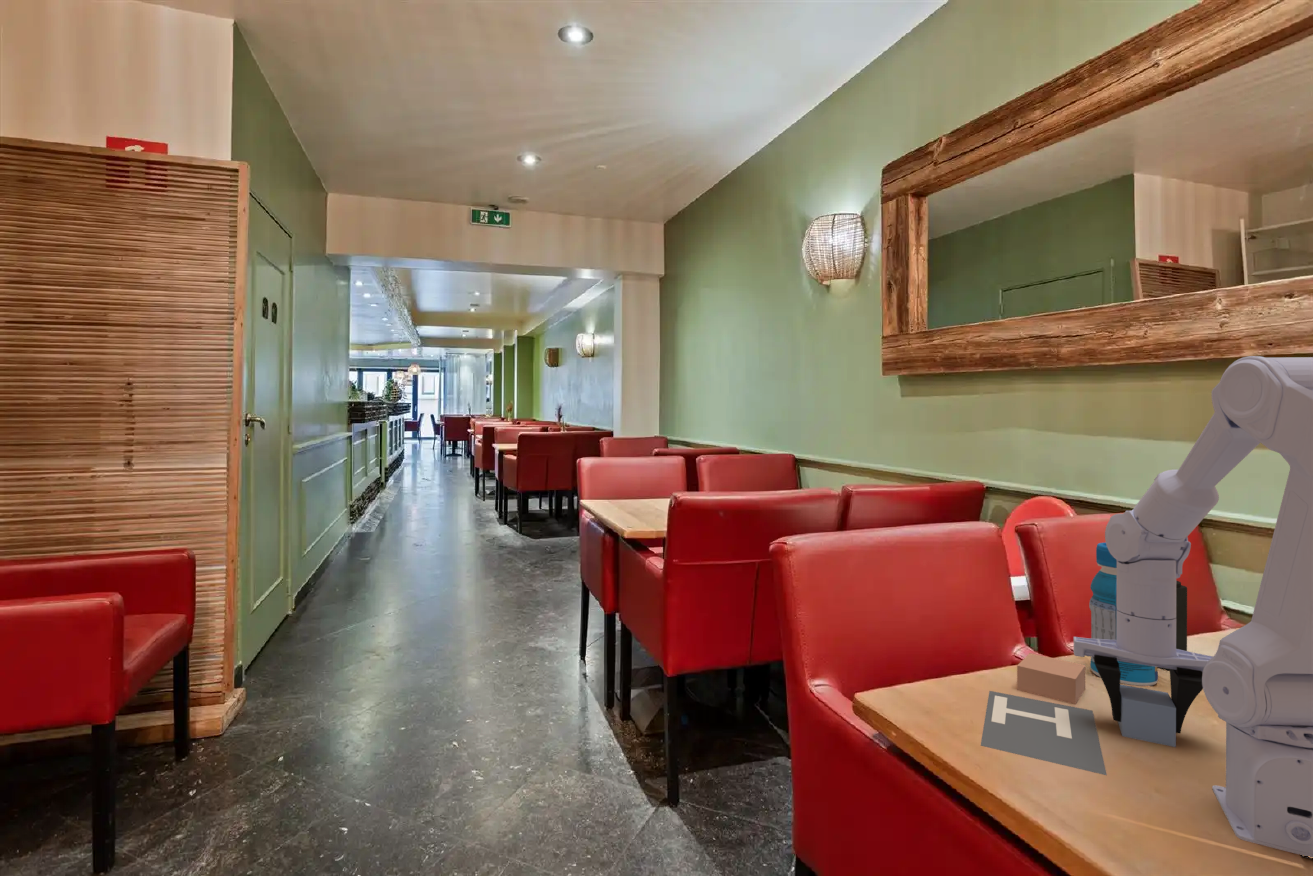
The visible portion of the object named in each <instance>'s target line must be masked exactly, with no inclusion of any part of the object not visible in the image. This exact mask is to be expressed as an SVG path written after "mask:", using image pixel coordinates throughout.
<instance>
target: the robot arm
mask: <svg viewBox="0 0 1313 876" xmlns="http://www.w3.org/2000/svg"><path fill="white" fill-rule="evenodd" d="M1211 403H1212V408H1213V411H1214V412H1213V414H1212V416H1211V417H1210V419H1209V421H1208V422H1207V424H1206V425H1205V427H1204V429H1203V430H1202V431H1201V434H1200V435H1199V437H1198V438H1197V440H1196V441H1195V442H1194V444H1193V446H1192V447H1191V449H1190V451H1189V453H1188V454H1187V456H1186V457H1185V458H1184V461H1182V464H1181V465H1180V467H1179V469H1177V468H1175V469H1167V470H1164V471H1162V472H1159V473H1158V474H1157V475H1156V477H1155V478H1154V479H1153V480H1154V481H1153V483H1151V485H1150V486H1149V488H1148V489H1147V490H1146V491H1145V493H1144V494H1143V495H1142V497H1141V498H1140V499H1139V501H1138V502H1137V503H1136V505H1134V507H1133V509H1132V510H1125V512H1123V513H1116V514H1113V515H1111V516H1110V518H1109V520H1108V522H1107V524H1106V527H1105V531H1104V538H1105V542H1106V545H1107V548H1108V550H1109V552H1110V554H1111V555H1112V556H1113V557H1114V558H1115V559H1116V560H1117V628H1116V640H1109V639H1092V638H1091V637H1090V638H1087V637H1080V636H1079V637H1078V636H1073V654H1074V656H1075V657H1081V658H1085V656H1086V657H1090V658H1091V657H1093V659H1094V663H1095V666H1096V668H1097V670H1098V673H1099V674H1100V676H1101V677H1100V678H1101V681H1102V683H1103V685H1104V687H1105V690H1106V692H1107V695H1108V698H1109V701H1110V705H1111V706H1110V708H1111V715H1112V719H1113V721H1115V722H1118V721H1119V722H1121V707H1120V685H1121V683H1120V677H1121V672H1120V670H1119V664H1118V661H1122V662H1129V663H1135V664H1142V665H1148V666H1155V667H1157V668H1158V667H1161V668H1167V669H1170V671H1169V678H1170V681H1169V682H1170V698H1171V700H1172V701H1173V703H1174V705H1175V707H1176V734H1181V731H1182V728H1183V724H1184V721H1185V718H1186V715H1187V713H1188V712H1189V709H1190V707H1191V705H1192V703H1193V702H1194V701H1195V699H1196V698H1197V696H1198V695H1199V694H1200V693H1201V692H1202V691H1203V693H1204V696H1205V698H1206V700H1207V702H1208V704H1209V705H1210V706H1211V707H1212V709H1213V711H1214V712H1215V713H1216V714H1217V718H1219V719H1220V720H1222V721H1224V722H1225V724H1226V725H1225V787H1224V786H1221V785H1212V787H1211V788H1212V789H1211V790H1212V791H1213V793H1214V796H1215V797H1216V799H1217V801H1218V804H1219V805H1220V808H1221V810H1222V811H1223V813H1224V815H1225V817H1226V819H1227V821H1228V823H1229V826H1231V829H1232V830H1233V833H1234V835H1235V837H1237V838H1238V839H1240V840H1242V841H1245V842H1249V843H1253V844H1257V845H1260V846H1265V847H1267V848H1272V849H1276V850H1280V851H1283V852H1284V851H1285V852H1288V853H1293V854H1295V855H1299V854H1300V855H1302V856H1301V857H1304V856H1310V857H1313V356H1312V357H1311V356H1310V357H1309V356H1308V357H1304V356H1303V357H1301V356H1300V357H1290V356H1288V357H1286V356H1285V357H1284V356H1283V357H1264V356H1259V355H1258V356H1257V355H1254V356H1253V355H1250V356H1243V357H1241V358H1238V359H1237V360H1234V361H1233V362H1232V363H1231V364H1229V365H1228V367H1227V368H1226V369H1225V370H1224V372H1223V373H1222V376H1221V378H1220V380H1219V382H1218V383H1217V384H1216V385H1215V387H1213V388H1212V390H1211ZM1260 444H1262V445H1263V446H1265V447H1266V449H1268V450H1270V451H1273V452H1275V453H1279V454H1280V455H1281V457H1282V458H1283V459H1284V461H1286V462H1287V463H1288V466H1289V470H1288V471H1289V472H1288V475H1287V476H1288V477H1287V478H1286V484H1285V488H1284V491H1283V495H1282V498H1281V502H1280V508H1279V511H1278V515H1277V519H1276V522H1275V528H1274V531H1273V535H1272V537H1271V538H1272V539H1271V541H1270V546H1269V551H1268V552H1267V558H1266V561H1265V566H1264V571H1263V572H1262V577H1261V581H1260V585H1259V590H1258V593H1257V597H1256V602H1255V605H1254V609H1253V612H1252V617H1251V621H1250V622H1247V623H1246V624H1245V625H1243V626H1241V627H1240V628H1238V629H1236V630H1234V631H1233V632H1230V633H1229V634H1228V635H1225V636H1224V637H1222V638H1221V639H1220V640H1219V643H1218V646H1217V650H1216V652H1215V654H1214V655H1213V656H1212V655H1208V654H1201V653H1197V652H1193V651H1189V650H1187V651H1184V650H1179V649H1176V581H1177V579H1179V578H1181V575H1183V565H1184V562H1185V560H1186V559H1187V558H1188V557H1189V554H1190V551H1191V548H1192V546H1191V545H1192V543H1191V542H1190V541H1189V537H1188V536H1189V535H1191V533H1192V532H1193V531H1194V530H1195V529H1196V527H1198V525H1199V524H1200V523H1201V522H1202V521H1203V520H1204V519H1205V517H1206V516H1207V515H1208V514H1209V513H1210V511H1212V510H1213V509H1214V508H1215V506H1216V505H1217V504H1218V502H1219V500H1220V496H1219V491H1218V489H1217V488H1216V486H1217V485H1218V484H1219V483H1220V482H1221V481H1222V480H1223V479H1224V478H1225V477H1226V476H1227V475H1228V474H1229V473H1231V471H1233V470H1234V469H1235V468H1236V467H1237V466H1238V465H1239V464H1240V463H1241V462H1242V461H1243V460H1244V459H1245V458H1246V457H1247V456H1248V455H1249V454H1250V453H1251V452H1252V451H1253V450H1255V449H1256V447H1258V446H1259V445H1260ZM1161 668H1160V669H1161ZM1300 855H1299V856H1300ZM1303 855H1304V856H1303Z"/></svg>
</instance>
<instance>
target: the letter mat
mask: <svg viewBox="0 0 1313 876" xmlns="http://www.w3.org/2000/svg"><path fill="white" fill-rule="evenodd" d="M987 698H988V699H987V703H986V704H987V705H986V709H985V715H984V722H983V729H982V735H981V741H980V746H981V747H983V748H989V749H993V750H997V751H1000V752H1001V751H1002V752H1006V753H1011V754H1014V755H1019V756H1021V757H1022V756H1023V757H1027V758H1032V759H1035V760H1040V761H1044V762H1049V763H1052V764H1056V765H1060V766H1066V767H1069V768H1074V769H1078V770H1082V771H1087V772H1091V773H1095V774H1099V775H1104V776H1107V775H1108V774H1107V769H1106V765H1105V760H1104V757H1103V752H1102V747H1101V743H1100V738H1099V734H1098V730H1097V725H1096V721H1095V716H1094V711H1093V710H1092V709H1087V708H1080V707H1076V706H1071V705H1065V704H1059V703H1055V702H1051V701H1045V700H1041V699H1040V700H1039V699H1034V698H1029V697H1024V696H1018V695H1013V694H1010V693H1009V694H1008V693H1003V692H998V691H994V690H989V692H988V697H987Z"/></svg>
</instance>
